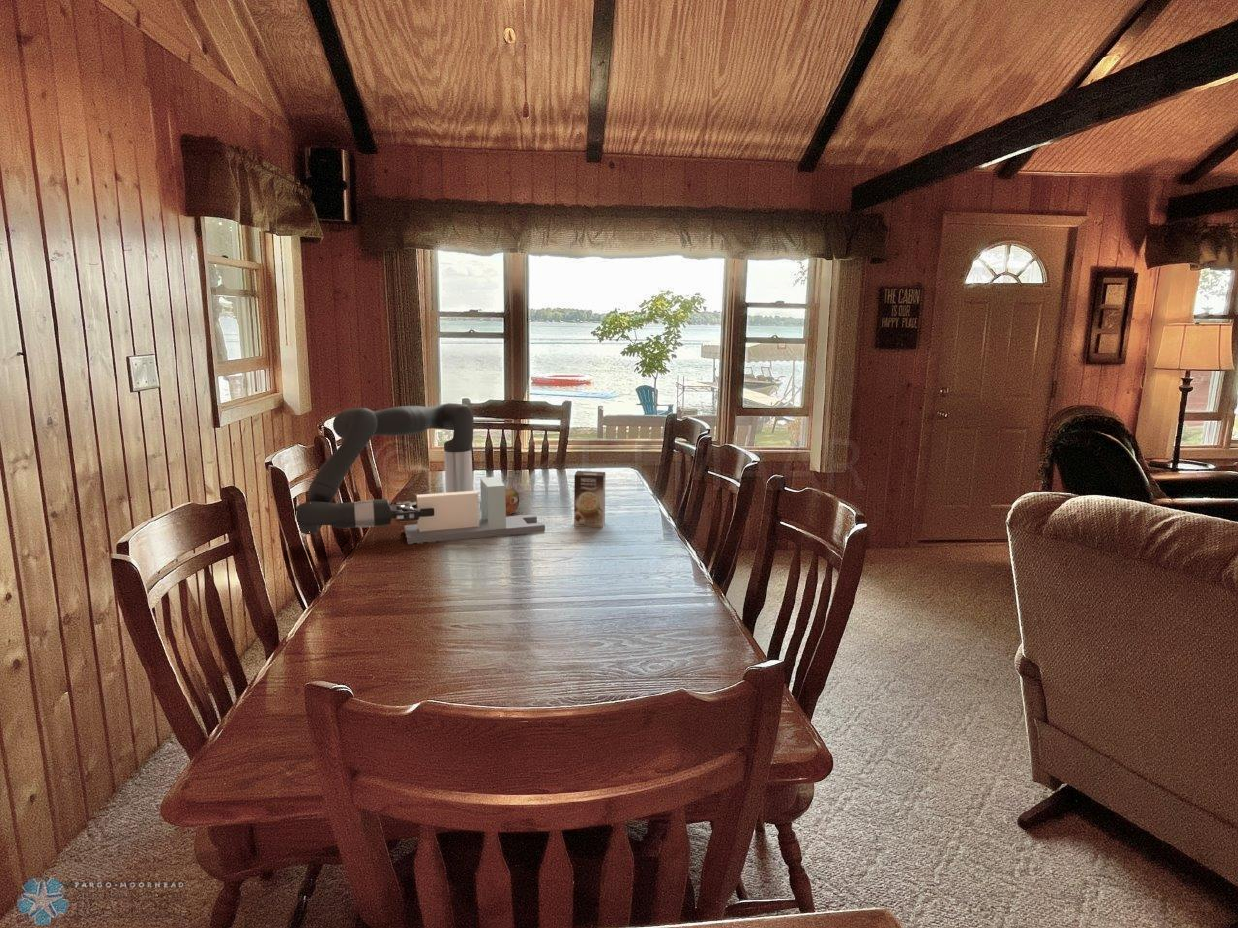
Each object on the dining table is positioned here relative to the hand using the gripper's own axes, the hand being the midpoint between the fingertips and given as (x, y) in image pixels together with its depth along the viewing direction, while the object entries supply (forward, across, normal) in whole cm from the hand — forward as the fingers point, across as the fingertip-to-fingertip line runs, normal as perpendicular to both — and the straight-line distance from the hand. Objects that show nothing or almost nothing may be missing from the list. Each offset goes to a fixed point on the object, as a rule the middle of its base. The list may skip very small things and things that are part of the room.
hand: (432, 508), depth 208 cm
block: (+4, 0, +6) cm, 7 cm away
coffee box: (+46, -3, +8) cm, 47 cm away
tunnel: (+17, 0, +6) cm, 18 cm away
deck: (+12, 0, +8) cm, 14 cm away
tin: (+22, +16, +8) cm, 29 cm away
